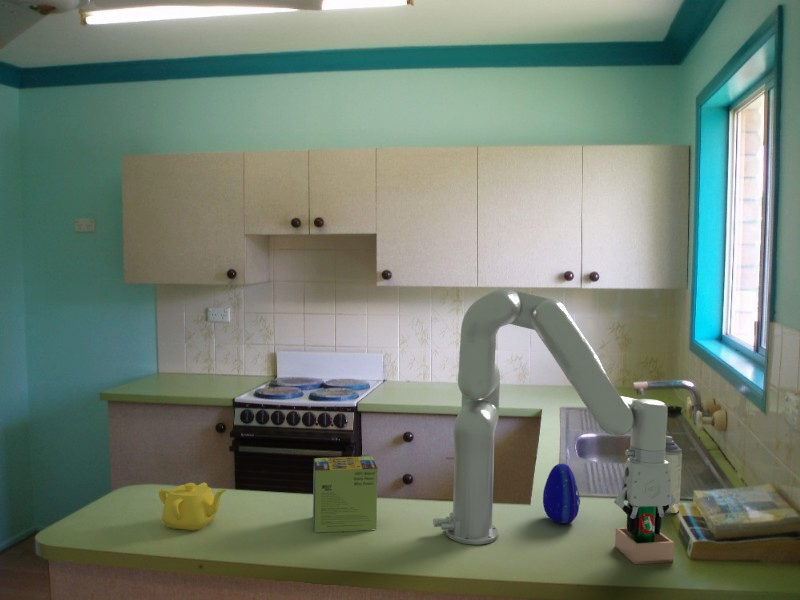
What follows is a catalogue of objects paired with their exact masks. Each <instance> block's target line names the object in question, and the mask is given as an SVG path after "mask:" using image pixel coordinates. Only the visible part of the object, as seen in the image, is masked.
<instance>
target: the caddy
mask: <svg viewBox="0 0 800 600" xmlns="http://www.w3.org/2000/svg"><path fill="white" fill-rule="evenodd" d="M614 540H615V541H614V548H615V549H617V550H618V551H619V552H620V553H621V554H623V556H624V557H626V558H627V559H628V560H630V561H631V562H632V563H633V564H634V565H649V564H661V563H662V564H663V563H674V552H675V542H674V541H673V540H671V539H670V538H669V537H667V536H666V535H665V534H664V533H662V532H661V531H660V534H655V542H652V543H636V542H635V541H634V540H632V539H631V533H630V532H629V531H628V530H627V527H617V528H615V538H614Z"/></svg>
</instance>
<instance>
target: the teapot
mask: <svg viewBox="0 0 800 600" xmlns="http://www.w3.org/2000/svg"><path fill="white" fill-rule="evenodd" d="M224 492H227V489H220V490H217V491H216V492H215V495H214V494H213V491H212V488H211V487H209V486H208V484H207V482H201V483H199V484H196V483H195V482H187V483H185V484H180V485H178V486H177V487H175V488H173V489H170V488H169V489H168V488H162V489H160V490H159V491H158V496H159V498H160V502H162V504H163V509H162V517H161V518H162V523H163V524H164V526H165V527H168V528H171V529H172V530H178V529H179V530H187V531H188V530H189V531H190V532H196V531H198V530H201V529H203V528H205V527H206V526H207V525H209V524H210V523H211V522H212V521H213V520H214V518H215V517H216V515H217V513H218V510H219V509H220V505H221V504H220V503H221V496H222V495H223V493H224ZM166 494H167V495H166Z"/></svg>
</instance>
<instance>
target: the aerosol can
mask: <svg viewBox="0 0 800 600" xmlns="http://www.w3.org/2000/svg"><path fill="white" fill-rule="evenodd" d="M682 458H683V452H682V448H681V447H680V446H678V444H677V443H676V442H675V441H674V440H673V436H671V435H666V448H665V460H666V461H668V464H669V469H670V476H671V494H672V496H673V497H674V498H675V500H676V501H675V503H674V504H678V503H681V502H680V501H681V481H682V463H683V462H682V460H683V459H682ZM674 504H672V505H671V506H669V508H668V510H667V511H666V512H665V513H664V515H672V514H671V509H672V506H673V505H674Z"/></svg>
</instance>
